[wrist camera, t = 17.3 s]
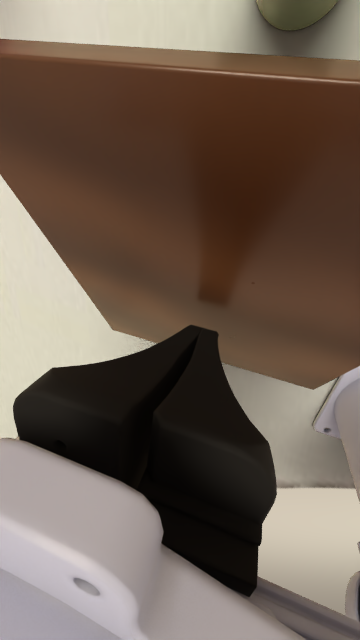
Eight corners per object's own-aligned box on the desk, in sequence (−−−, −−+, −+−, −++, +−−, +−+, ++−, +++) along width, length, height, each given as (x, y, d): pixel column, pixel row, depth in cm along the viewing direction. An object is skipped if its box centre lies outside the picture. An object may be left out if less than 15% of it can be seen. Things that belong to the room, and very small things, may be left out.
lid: (-70, 33, 6) (-93, 47, 5) (808, 84, 3) (850, 118, 3) (116, 321, 18) (112, 329, 18) (314, 378, 16) (313, 390, 16)
